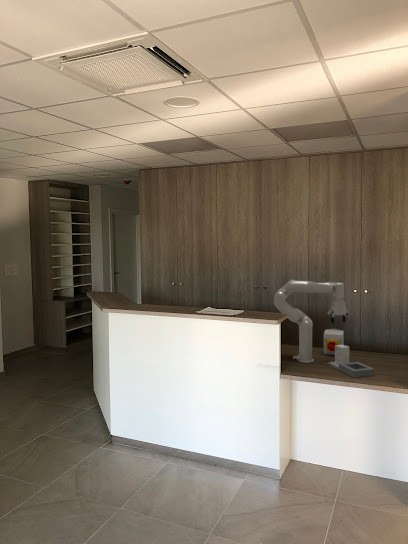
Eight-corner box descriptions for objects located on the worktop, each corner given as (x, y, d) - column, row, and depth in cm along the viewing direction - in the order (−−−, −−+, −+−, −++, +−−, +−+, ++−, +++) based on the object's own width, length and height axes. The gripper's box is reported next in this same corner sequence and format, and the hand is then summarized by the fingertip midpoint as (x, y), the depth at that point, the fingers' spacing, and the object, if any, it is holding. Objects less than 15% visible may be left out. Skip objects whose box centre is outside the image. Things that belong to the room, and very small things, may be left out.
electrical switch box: (322, 358, 358) (322, 334, 354) (325, 351, 371) (325, 328, 367) (341, 360, 352) (341, 335, 348) (343, 352, 366) (343, 329, 362)
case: (353, 377, 301) (353, 371, 301) (326, 364, 333) (326, 358, 333) (374, 375, 305) (374, 368, 305) (345, 362, 338) (345, 356, 338)
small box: (349, 364, 326) (349, 346, 325) (342, 365, 323) (343, 347, 322) (341, 361, 333) (341, 344, 332) (334, 362, 330) (334, 345, 329)
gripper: (330, 300, 328) (330, 324, 329) (351, 299, 332) (351, 322, 334) (325, 299, 335) (325, 322, 336) (345, 298, 340) (345, 320, 341)
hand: (338, 322), depth 335 cm, fingers open, 9 cm apart
